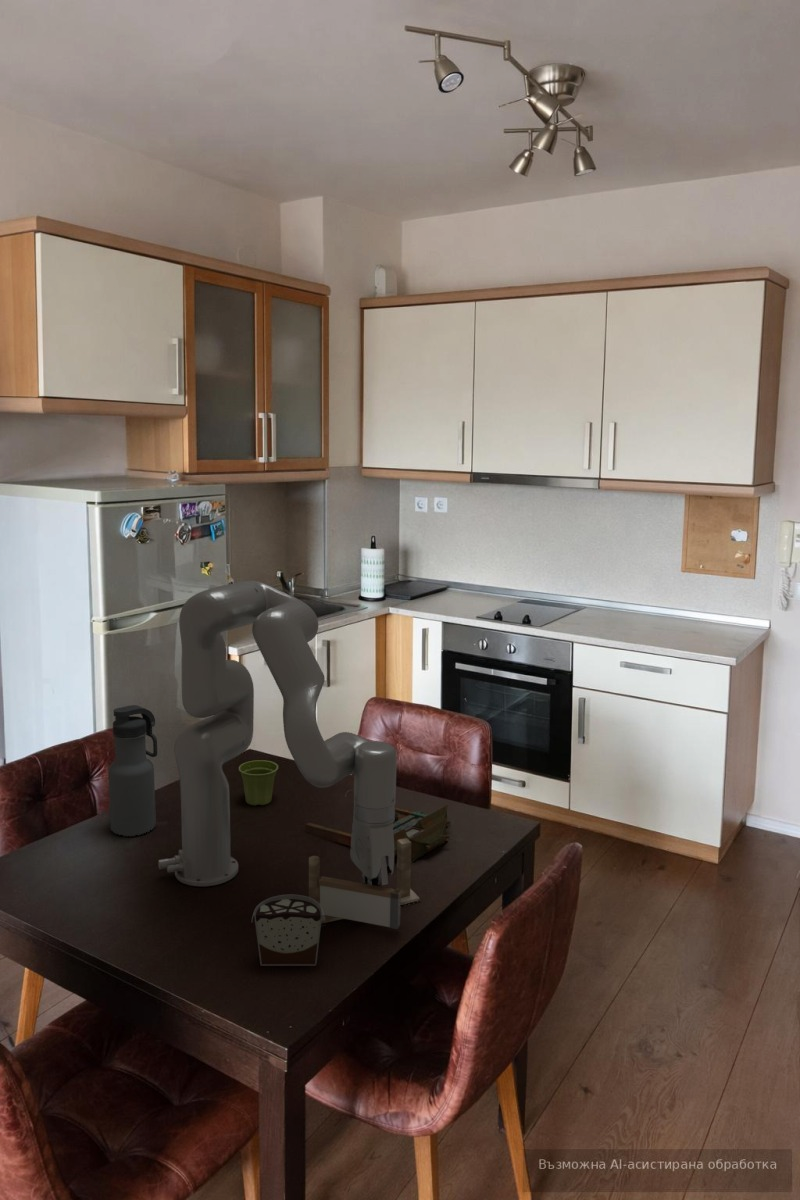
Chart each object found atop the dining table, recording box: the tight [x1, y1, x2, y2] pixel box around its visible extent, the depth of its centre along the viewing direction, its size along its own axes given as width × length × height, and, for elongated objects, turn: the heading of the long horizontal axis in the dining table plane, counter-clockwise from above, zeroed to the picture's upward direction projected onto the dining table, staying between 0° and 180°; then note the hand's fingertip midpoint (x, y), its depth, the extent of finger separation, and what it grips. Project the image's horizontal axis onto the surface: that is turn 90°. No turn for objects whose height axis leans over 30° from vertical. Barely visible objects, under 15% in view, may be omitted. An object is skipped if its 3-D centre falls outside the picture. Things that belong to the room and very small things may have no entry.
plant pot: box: [238, 759, 279, 806], centre depth 222 cm, size 9×9×9 cm
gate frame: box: [308, 838, 421, 925], centre depth 173 cm, size 24×5×12 cm, turn 115°
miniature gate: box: [304, 804, 451, 862], centre depth 205 cm, size 27×6×30 cm
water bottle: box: [107, 704, 158, 837], centre depth 204 cm, size 10×10×28 cm
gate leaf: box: [319, 875, 402, 930], centre depth 167 cm, size 15×2×7 cm, turn 72°
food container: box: [250, 894, 326, 967], centre depth 157 cm, size 12×6×10 cm, turn 92°
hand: (372, 903), depth 170 cm, fingers closed
